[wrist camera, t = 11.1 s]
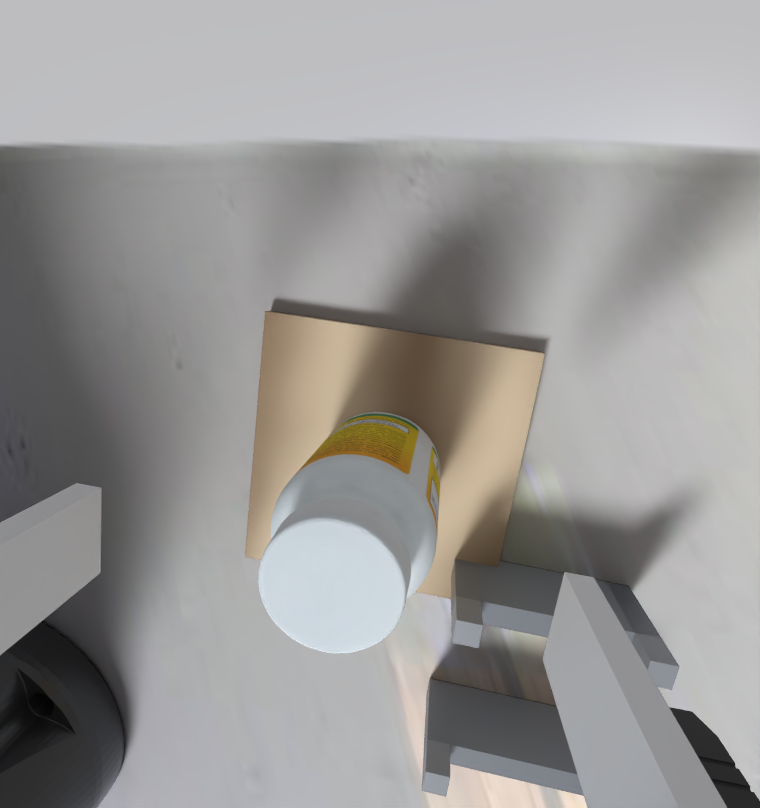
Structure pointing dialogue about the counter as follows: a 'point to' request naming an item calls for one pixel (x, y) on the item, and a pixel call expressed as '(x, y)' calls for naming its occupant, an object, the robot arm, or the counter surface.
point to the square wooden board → (404, 396)
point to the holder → (508, 716)
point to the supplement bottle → (353, 534)
